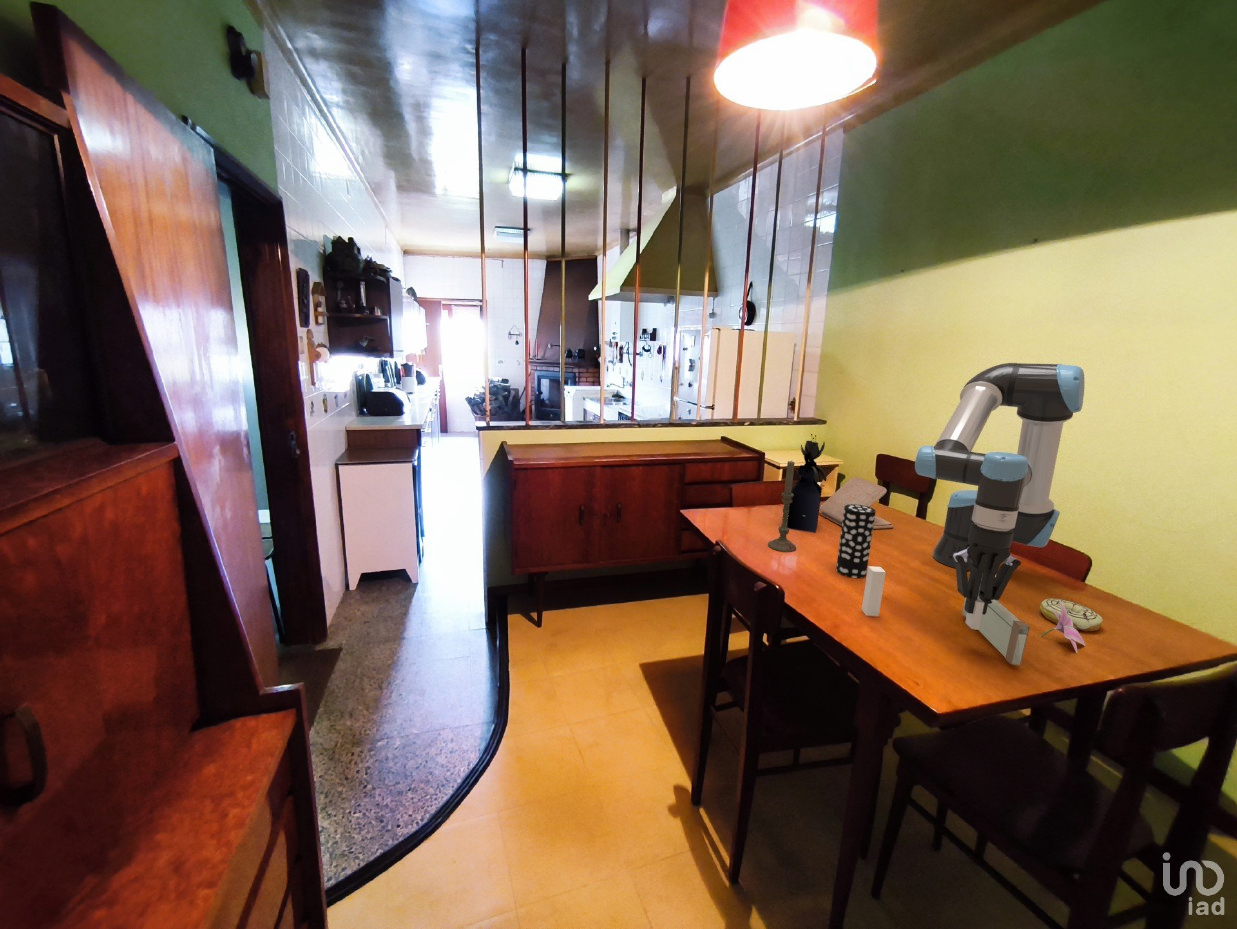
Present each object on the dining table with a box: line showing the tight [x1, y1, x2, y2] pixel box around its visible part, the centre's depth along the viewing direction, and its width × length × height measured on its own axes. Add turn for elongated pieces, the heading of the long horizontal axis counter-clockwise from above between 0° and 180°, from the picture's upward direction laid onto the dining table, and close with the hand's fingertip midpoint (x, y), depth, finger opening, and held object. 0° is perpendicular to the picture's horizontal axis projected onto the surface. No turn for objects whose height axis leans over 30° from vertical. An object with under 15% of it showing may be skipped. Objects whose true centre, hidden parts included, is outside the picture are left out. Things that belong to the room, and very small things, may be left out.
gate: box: [961, 589, 1031, 666], centre depth 118 cm, size 22×2×9 cm, turn 171°
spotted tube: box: [835, 504, 877, 579], centre depth 152 cm, size 8×8×20 cm
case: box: [819, 476, 895, 530], centre depth 200 cm, size 20×21×16 cm
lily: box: [1040, 598, 1086, 654], centre depth 118 cm, size 11×11×9 cm
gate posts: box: [861, 565, 997, 617], centre depth 128 cm, size 30×3×12 cm, turn 86°
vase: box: [787, 433, 827, 534], centre depth 188 cm, size 14×12×35 cm
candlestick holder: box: [767, 460, 797, 553], centre depth 169 cm, size 9×9×30 cm
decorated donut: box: [1039, 598, 1104, 633], centre depth 129 cm, size 11×12×4 cm
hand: (972, 626), depth 114 cm, fingers closed
